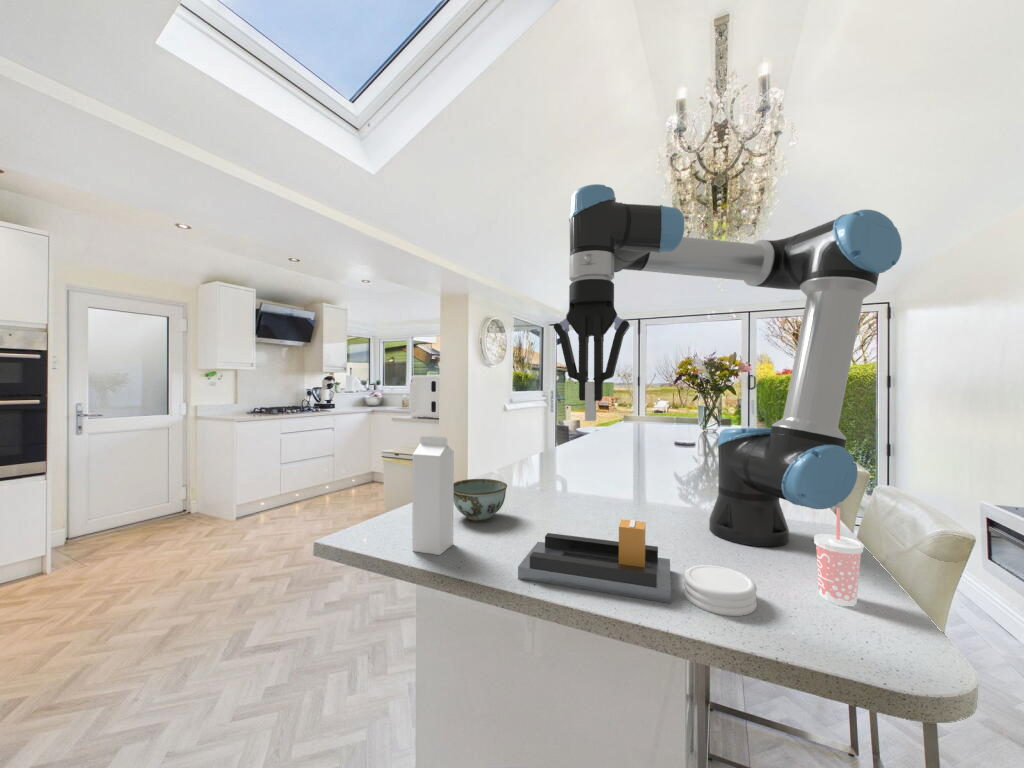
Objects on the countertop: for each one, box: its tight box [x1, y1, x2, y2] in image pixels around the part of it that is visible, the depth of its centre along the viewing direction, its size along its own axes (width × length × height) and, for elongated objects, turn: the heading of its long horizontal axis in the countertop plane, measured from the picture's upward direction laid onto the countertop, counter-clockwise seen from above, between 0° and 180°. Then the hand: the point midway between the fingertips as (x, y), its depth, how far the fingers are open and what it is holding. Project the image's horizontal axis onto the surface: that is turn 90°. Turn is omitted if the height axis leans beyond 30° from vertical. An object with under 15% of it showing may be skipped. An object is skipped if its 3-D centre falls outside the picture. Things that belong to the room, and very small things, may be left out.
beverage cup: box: [813, 507, 865, 605], centre depth 67 cm, size 6×6×14 cm
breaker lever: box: [618, 518, 646, 567], centre depth 73 cm, size 4×4×7 cm
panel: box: [517, 532, 672, 604], centre depth 75 cm, size 24×12×4 cm, turn 71°
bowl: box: [454, 478, 508, 523], centre depth 105 cm, size 14×13×8 cm
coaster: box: [683, 564, 758, 617], centre depth 67 cm, size 10×10×4 cm
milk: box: [411, 435, 455, 556], centre depth 86 cm, size 6×6×22 cm
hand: (590, 420), depth 75 cm, fingers closed
